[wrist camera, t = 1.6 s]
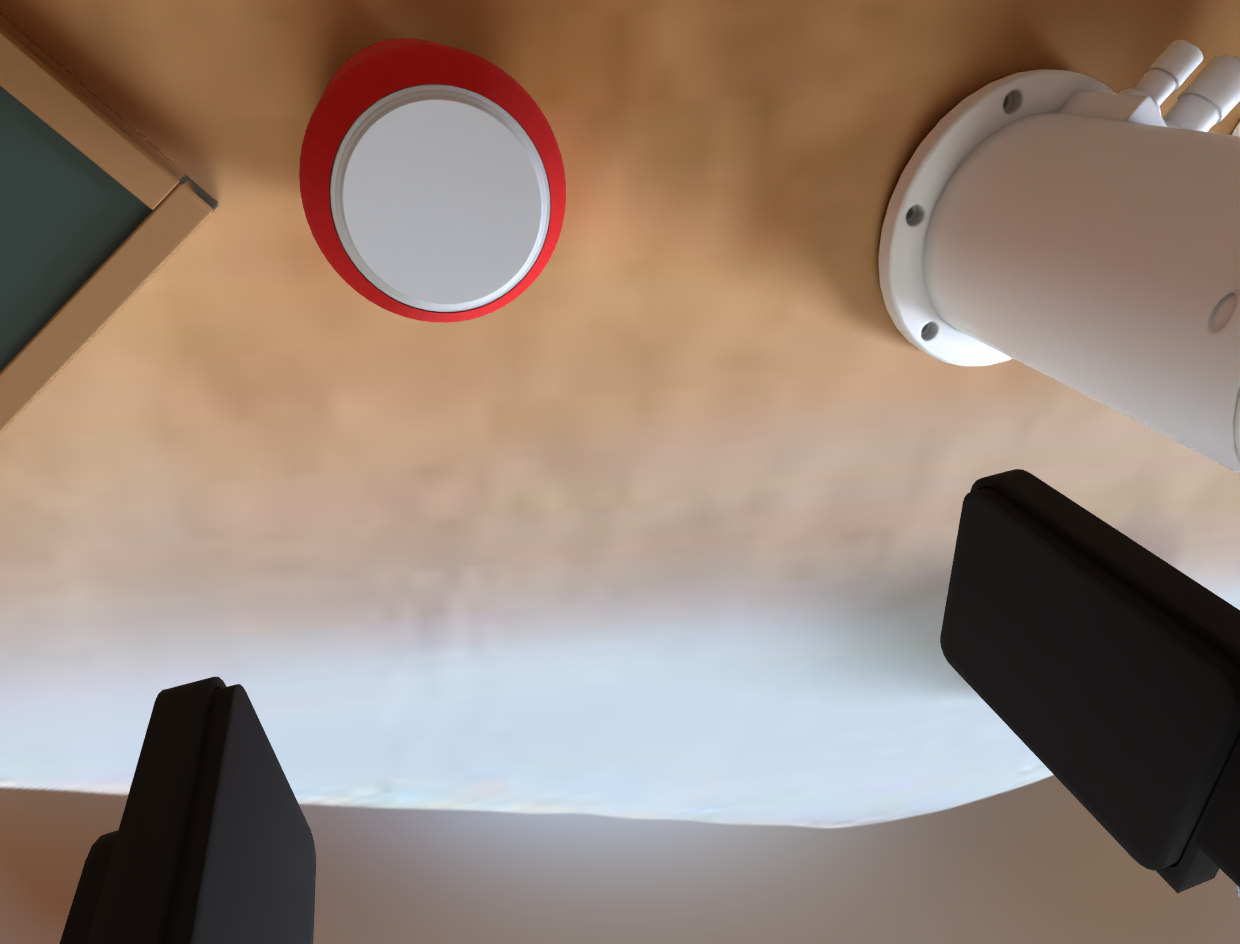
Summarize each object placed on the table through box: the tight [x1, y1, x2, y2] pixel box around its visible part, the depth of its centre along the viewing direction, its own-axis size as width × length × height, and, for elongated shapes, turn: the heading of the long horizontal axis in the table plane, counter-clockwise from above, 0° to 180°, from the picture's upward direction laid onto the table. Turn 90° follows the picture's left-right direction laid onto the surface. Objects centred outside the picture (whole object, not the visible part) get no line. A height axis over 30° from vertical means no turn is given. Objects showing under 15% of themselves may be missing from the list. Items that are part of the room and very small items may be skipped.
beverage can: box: [299, 38, 566, 322], centre depth 22 cm, size 6×6×12 cm
